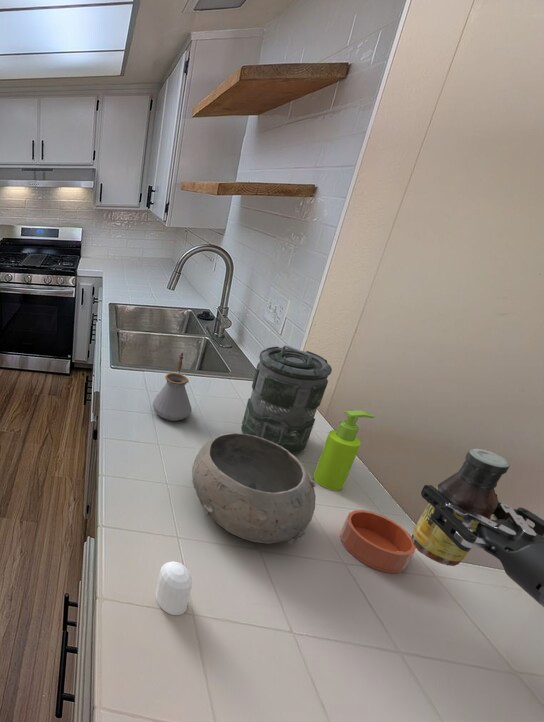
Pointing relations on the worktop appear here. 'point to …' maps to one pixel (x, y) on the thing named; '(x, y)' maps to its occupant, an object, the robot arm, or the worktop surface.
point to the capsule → (173, 588)
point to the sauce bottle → (461, 504)
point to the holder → (377, 541)
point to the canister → (286, 396)
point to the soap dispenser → (339, 452)
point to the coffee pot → (173, 397)
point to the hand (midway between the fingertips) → (447, 489)
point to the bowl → (254, 488)
